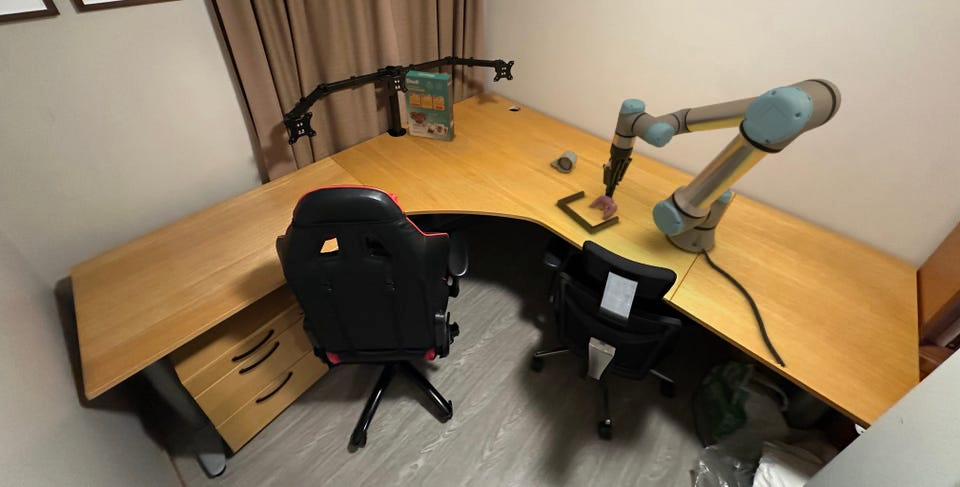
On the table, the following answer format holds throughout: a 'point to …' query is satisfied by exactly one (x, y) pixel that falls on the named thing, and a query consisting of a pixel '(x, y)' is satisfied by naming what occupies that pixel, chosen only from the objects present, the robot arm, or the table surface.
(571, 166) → the ceramic mug
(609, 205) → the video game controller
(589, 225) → the holder
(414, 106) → the cake mix box
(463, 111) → the table surface
